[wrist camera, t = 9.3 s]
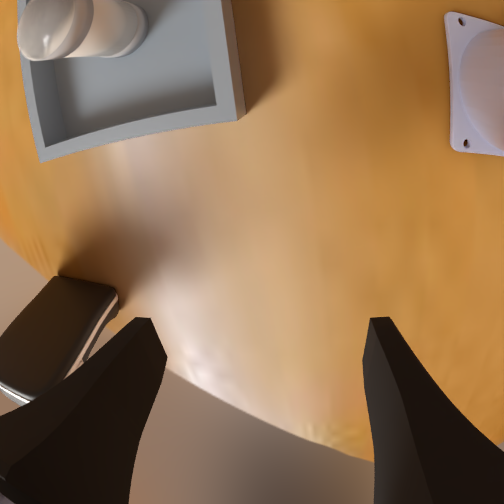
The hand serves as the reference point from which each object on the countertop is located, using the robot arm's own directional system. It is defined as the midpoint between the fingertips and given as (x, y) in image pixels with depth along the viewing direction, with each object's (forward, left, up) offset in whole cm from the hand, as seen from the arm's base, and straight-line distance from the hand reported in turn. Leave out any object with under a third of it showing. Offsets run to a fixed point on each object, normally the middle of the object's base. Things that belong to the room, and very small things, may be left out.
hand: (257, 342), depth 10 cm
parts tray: (+7, -12, -9) cm, 17 cm away
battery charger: (+16, +6, -10) cm, 20 cm away
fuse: (+7, -12, -9) cm, 17 cm away
